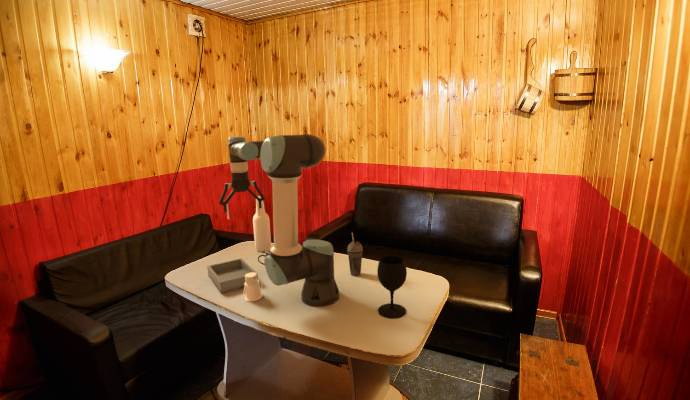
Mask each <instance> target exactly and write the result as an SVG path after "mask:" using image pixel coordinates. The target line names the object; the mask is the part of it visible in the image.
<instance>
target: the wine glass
mask: <svg viewBox="0 0 690 400" xmlns="http://www.w3.org/2000/svg"><path fill="white" fill-rule="evenodd" d="M376 270H377V279H378V281H379V283H380V284H381V286H383V288H384V289H385V290H387V291H389V294H390V296H389V297H390V302H389V303H384V304H382V305H379V306H378V309H377V312H378V315H380V316H381V317H383V318H387V319H400V318H402V317H404V316H405V315H406V314H407V309H406V308H405V307H404V305H401V304H398V303H394V295H395V294H394V293H395V292H396V291H398V290H400V288H402V286H403V285H404V284H405V283H406V279H407V275H408V273H407V271H408V270H407V265H406V261H405V259H404V258H403V257H401V256H400V255H399V256H398V255H385V256H382V257H380V258H379V261H378V264H377V269H376Z"/></svg>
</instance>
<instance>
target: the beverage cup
mask: <svg viewBox="0 0 690 400" xmlns="http://www.w3.org/2000/svg"><path fill="white" fill-rule="evenodd" d="M351 238H352V241H351V242H350V243H349V244H348V246H347V250H346V252H347V255H348V263H349V273H350V275H351V276H352V277H360V276H361V272H362V258H363V252H364V249H363V245H362V243H360V242H359V241H355V239H354V238H355V237H354V233H353V232H351Z"/></svg>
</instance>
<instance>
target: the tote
mask: <svg viewBox="0 0 690 400" xmlns="http://www.w3.org/2000/svg"><path fill="white" fill-rule="evenodd" d="M206 268H207V275H208V278H209V279H210V280H211V282H212V283H213V285H214V286H215V287H216V289H217V290H218V292H219V293H220V294H221V295H222V294H226V293H229V292H234V291H237V290H240V289H244V286H245V285H244V283H245V282H246V280H245V275H246V274H247V273H251V272H255V273H257V280H259V278H258V277H259V276H258V272H257V271H256V270H255V269H254V268H252V266H250V265H249V264H248V263H247V262H246V261H245V260H244V259H243V258H241V257H240V258H236V259H232V260H228V261H224V262H223V261H222V262H219V263H214V264H211V265H206Z"/></svg>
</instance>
